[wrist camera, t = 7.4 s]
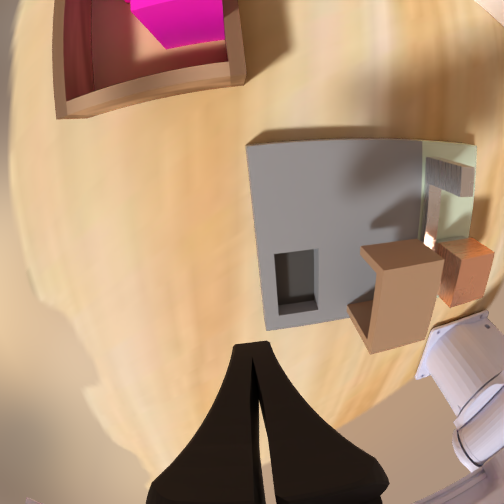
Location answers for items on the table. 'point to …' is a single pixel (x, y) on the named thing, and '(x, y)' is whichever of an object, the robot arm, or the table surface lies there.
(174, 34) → the toy block
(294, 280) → the track
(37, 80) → the table surface
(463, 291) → the sled
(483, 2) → the gable box
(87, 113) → the wooden caddy
